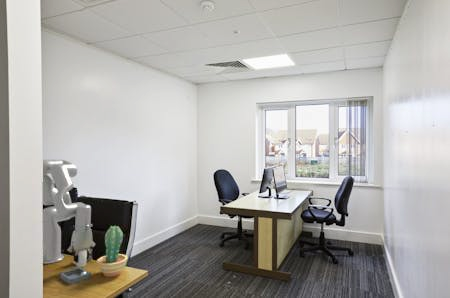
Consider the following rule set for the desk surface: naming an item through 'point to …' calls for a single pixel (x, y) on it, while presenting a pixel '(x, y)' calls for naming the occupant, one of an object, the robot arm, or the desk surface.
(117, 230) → the potted cactus
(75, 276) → the tray
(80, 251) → the shaker
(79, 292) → the desk surface
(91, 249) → the medicine bottle
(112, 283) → the desk surface
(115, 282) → the desk surface
